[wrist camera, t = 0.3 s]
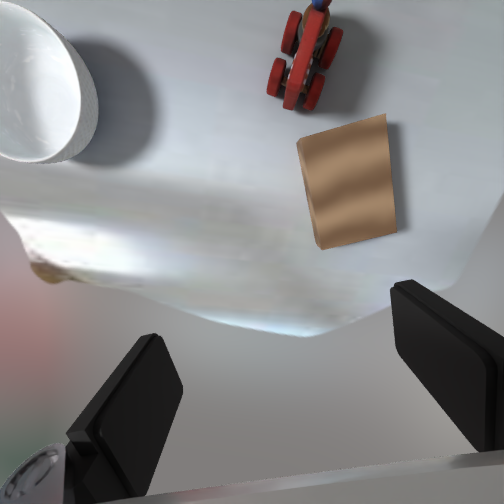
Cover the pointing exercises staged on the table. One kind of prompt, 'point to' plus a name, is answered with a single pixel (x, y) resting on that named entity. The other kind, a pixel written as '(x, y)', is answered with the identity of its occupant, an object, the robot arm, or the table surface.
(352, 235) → the tan block
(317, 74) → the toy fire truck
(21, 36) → the cereal bowl
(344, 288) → the table surface
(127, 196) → the table surface
